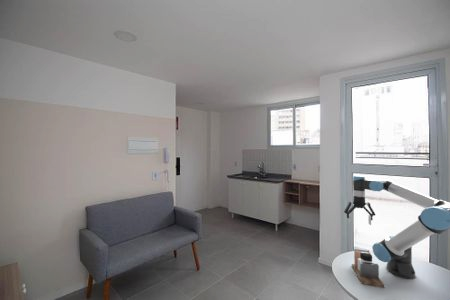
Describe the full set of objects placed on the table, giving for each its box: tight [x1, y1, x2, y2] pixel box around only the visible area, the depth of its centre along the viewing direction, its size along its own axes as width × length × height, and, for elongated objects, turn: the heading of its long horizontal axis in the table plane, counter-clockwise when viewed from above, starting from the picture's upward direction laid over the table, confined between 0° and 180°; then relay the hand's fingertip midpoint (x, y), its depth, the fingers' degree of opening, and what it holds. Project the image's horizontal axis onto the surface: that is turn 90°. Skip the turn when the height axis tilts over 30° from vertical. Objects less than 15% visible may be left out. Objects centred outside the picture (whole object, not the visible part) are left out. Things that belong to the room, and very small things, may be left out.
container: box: [358, 252, 374, 271], centre depth 136 cm, size 8×8×13 cm
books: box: [353, 248, 372, 267], centre depth 143 cm, size 10×2×12 cm, turn 72°
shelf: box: [351, 263, 385, 288], centre depth 135 cm, size 12×21×2 cm, turn 162°
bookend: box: [360, 262, 380, 280], centre depth 131 cm, size 10×2×9 cm, turn 72°
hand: (359, 223), depth 154 cm, fingers open, 13 cm apart
